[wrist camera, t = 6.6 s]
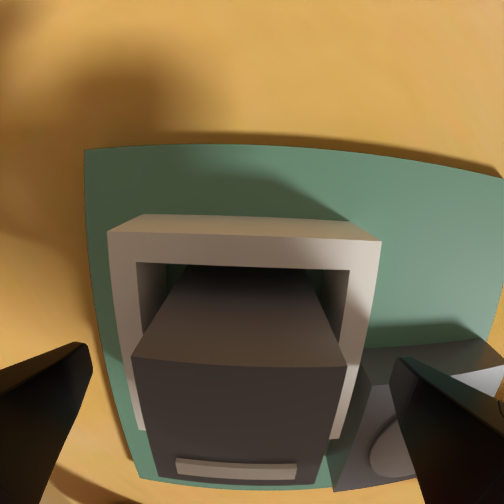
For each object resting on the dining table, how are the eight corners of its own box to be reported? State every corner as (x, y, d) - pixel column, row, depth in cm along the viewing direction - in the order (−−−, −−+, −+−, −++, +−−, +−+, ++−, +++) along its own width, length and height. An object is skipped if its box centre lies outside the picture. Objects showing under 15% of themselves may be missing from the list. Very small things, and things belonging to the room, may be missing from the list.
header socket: (350, 221, 11) (381, 241, 8) (325, 389, 13) (338, 438, 10) (143, 213, 11) (106, 231, 8) (157, 382, 13) (138, 429, 10)
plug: (303, 266, 11) (349, 371, 5) (293, 361, 12) (314, 488, 6) (189, 262, 11) (127, 360, 5) (193, 357, 12) (157, 481, 6)
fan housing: (481, 337, 12) (515, 369, 9) (437, 438, 14) (456, 472, 11) (354, 348, 12) (376, 394, 9) (325, 456, 14) (335, 499, 11)
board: (505, 181, 11) (519, 183, 10) (418, 460, 16) (423, 470, 15) (96, 150, 11) (84, 149, 10) (143, 466, 16) (139, 477, 15)
